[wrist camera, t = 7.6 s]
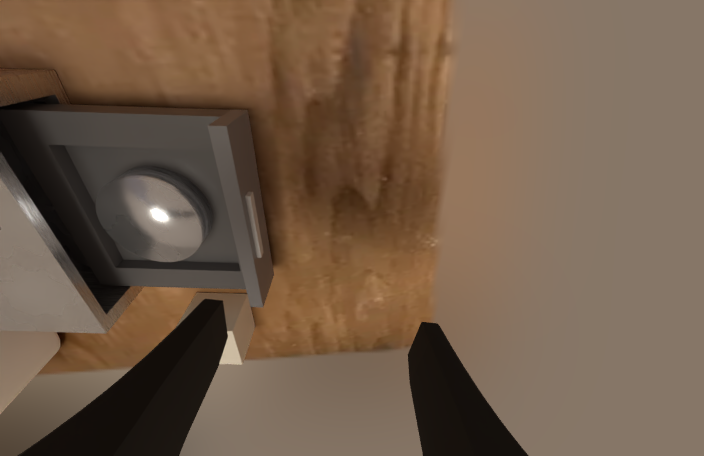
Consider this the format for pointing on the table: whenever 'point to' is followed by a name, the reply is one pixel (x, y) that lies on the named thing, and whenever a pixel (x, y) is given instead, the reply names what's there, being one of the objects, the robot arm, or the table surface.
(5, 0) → the table surface
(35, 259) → the box
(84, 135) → the tray
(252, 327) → the riser block
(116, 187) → the disc
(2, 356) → the beverage can
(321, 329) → the table surface
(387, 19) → the table surface
